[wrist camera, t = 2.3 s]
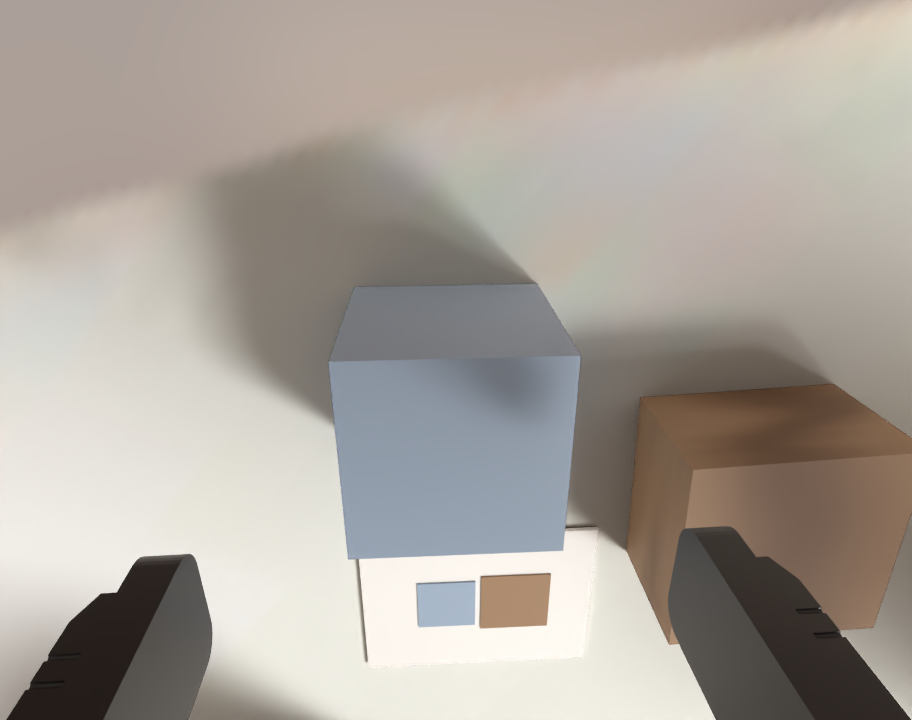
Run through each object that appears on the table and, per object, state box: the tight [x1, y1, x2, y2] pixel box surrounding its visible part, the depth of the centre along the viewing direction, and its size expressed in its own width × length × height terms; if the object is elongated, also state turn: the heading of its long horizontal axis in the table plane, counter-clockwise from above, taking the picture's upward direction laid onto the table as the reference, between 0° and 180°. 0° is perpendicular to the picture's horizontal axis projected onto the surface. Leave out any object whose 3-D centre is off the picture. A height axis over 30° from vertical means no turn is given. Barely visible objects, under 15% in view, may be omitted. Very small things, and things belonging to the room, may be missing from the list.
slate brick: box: [328, 283, 581, 559], centre depth 15 cm, size 5×5×5 cm
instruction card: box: [359, 527, 599, 668], centre depth 21 cm, size 8×6×1 cm
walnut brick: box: [627, 384, 912, 645], centre depth 18 cm, size 6×6×4 cm
